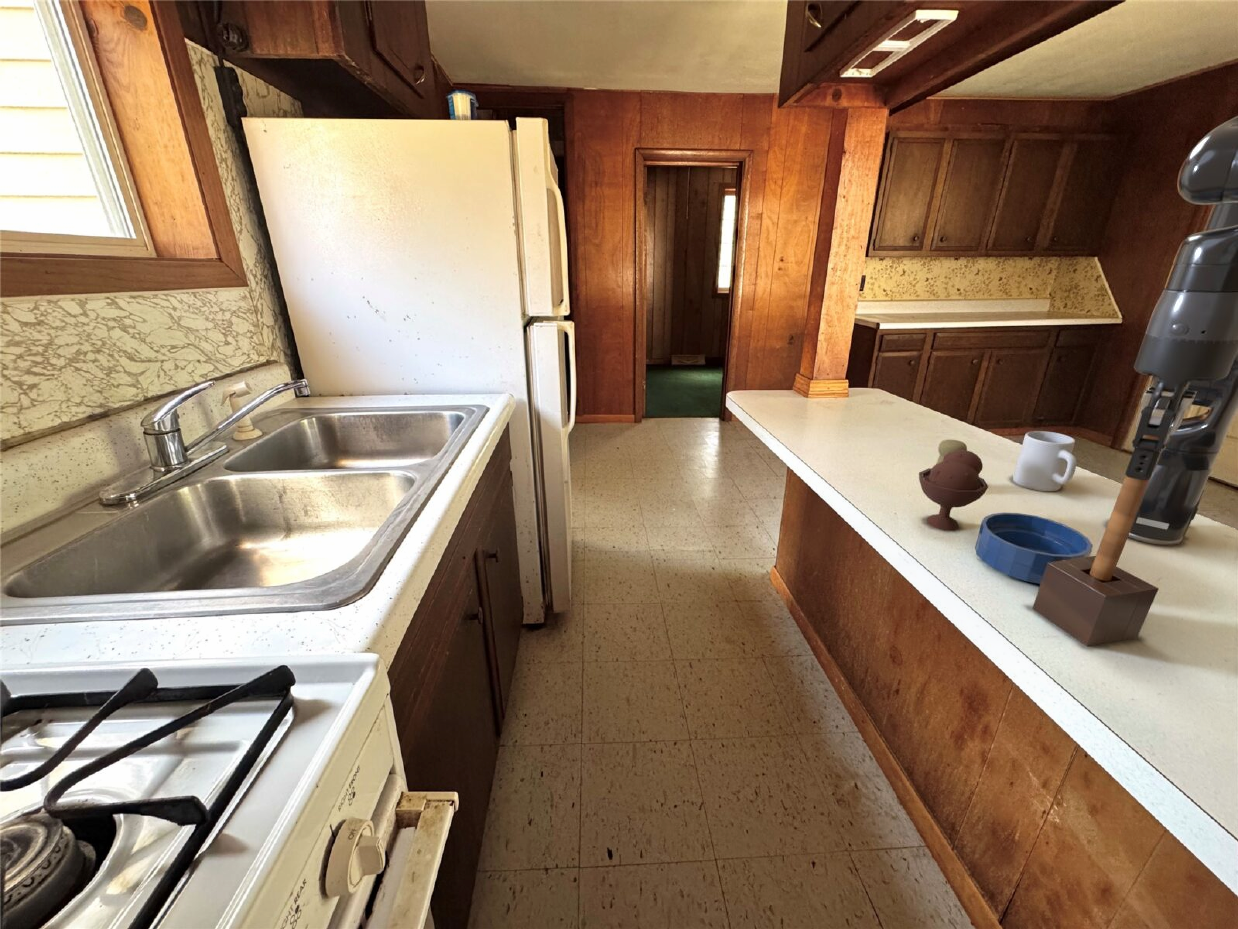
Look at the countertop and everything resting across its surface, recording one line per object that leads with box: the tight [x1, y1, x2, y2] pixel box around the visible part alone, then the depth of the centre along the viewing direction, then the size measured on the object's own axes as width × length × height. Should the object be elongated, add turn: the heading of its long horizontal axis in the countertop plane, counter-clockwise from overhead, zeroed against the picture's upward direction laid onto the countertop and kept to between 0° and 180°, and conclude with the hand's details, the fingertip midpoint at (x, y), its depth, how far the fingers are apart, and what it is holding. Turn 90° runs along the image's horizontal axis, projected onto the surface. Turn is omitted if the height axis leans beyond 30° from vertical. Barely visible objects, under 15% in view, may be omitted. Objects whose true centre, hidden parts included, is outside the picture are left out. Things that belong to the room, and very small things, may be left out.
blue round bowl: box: [974, 512, 1093, 585], centre depth 84 cm, size 14×14×6 cm
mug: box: [1012, 430, 1077, 492], centre depth 110 cm, size 12×8×11 cm
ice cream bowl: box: [918, 449, 989, 532], centre depth 96 cm, size 11×11×15 cm
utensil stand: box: [1032, 555, 1160, 647], centre depth 70 cm, size 8×8×8 cm
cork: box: [935, 439, 968, 465], centre depth 111 cm, size 6×6×11 cm
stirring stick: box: [1090, 435, 1161, 581], centre depth 65 cm, size 2×2×20 cm
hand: (1139, 474), depth 63 cm, fingers closed on stirring stick, 2 cm apart
